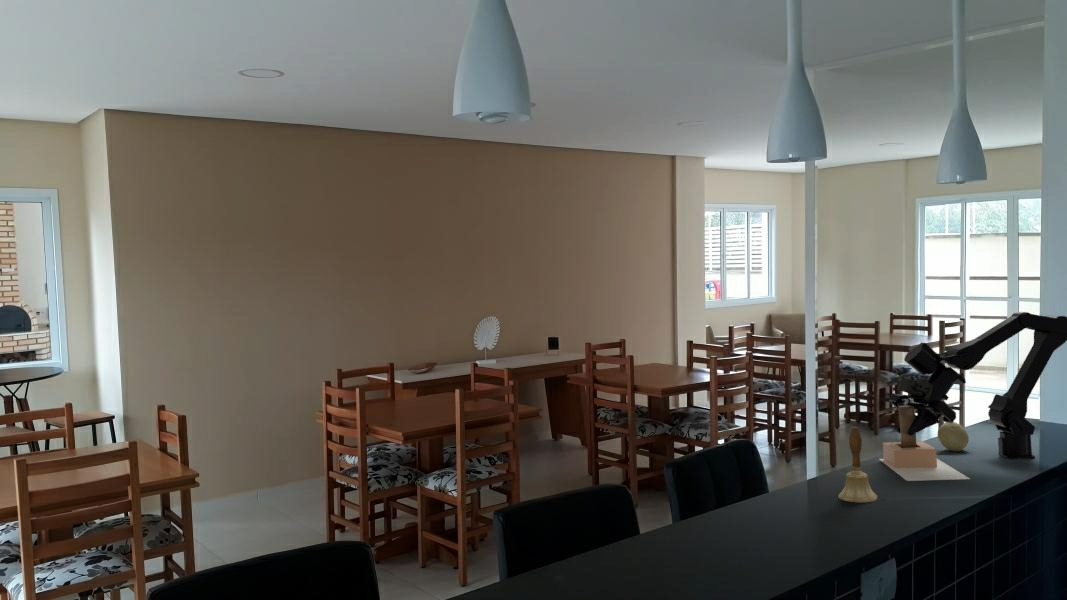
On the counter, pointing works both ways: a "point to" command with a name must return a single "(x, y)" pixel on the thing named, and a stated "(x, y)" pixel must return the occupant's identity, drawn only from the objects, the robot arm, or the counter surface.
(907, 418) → the walnut peg
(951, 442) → the potato
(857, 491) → the hand bell
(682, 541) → the counter surface
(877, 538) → the counter surface
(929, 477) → the collar plate
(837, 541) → the counter surface
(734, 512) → the counter surface
